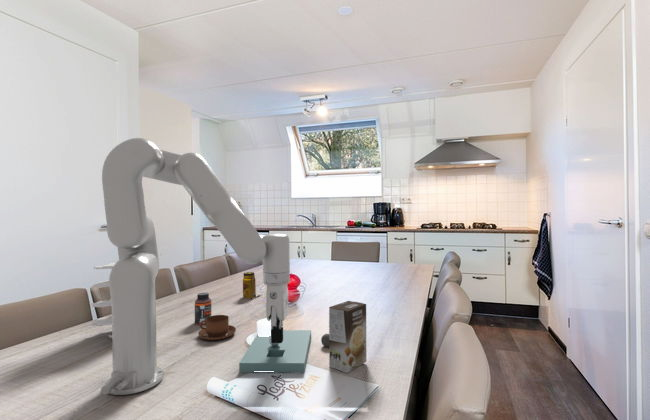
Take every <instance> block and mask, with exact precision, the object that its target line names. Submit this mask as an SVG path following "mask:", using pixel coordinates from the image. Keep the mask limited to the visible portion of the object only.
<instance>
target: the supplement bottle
mask: <svg viewBox="0 0 650 420" xmlns="http://www.w3.org/2000/svg"><path fill="white" fill-rule="evenodd" d="M209 294H210V293H209V292H199V293H197V296H196V297H197V298H196V299H195V300H194V324H195V325H196V326H200V322H201V321H203V320H206V318H208V317H210V316H213V315H212V299H211V298H210V296H209ZM202 326H206V323H205V322H203V323H202Z"/></svg>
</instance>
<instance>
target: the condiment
mask: <svg viewBox="0 0 650 420" xmlns="http://www.w3.org/2000/svg"><path fill="white" fill-rule="evenodd" d="M242 274H243V276H242V277H243V278H242V298H243V299H244V298H245V299H244V300H253V299H254V300H255V299H257V298H258V297H260V296H261V294H256V291H257V290H256V278H255V277H256V275H255V272H253V271H246V272H244V273H242ZM256 295H258V296H257V297H256ZM251 298H253V299H251Z"/></svg>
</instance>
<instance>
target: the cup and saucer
mask: <svg viewBox="0 0 650 420" xmlns="http://www.w3.org/2000/svg"><path fill="white" fill-rule="evenodd" d="M229 318H230V317H229V316H228V315H227V314H216V315H215V314H214V315H212V316H210V317H208V318H206V320H203V321H201V322H200V325H199V328H200V330H199V331H198V336H199V338H201V339H203V340H206V341H218V340H223V339H227V338H230V337H231V336H233V335H234V334H235V333H236V331H237V328H236V327H235V326H234V325H230V324H229V322H230V321H229V320H230V319H229ZM203 322H205V323H206V325H205V327H203V325H202V323H203ZM207 336H208V337H207Z"/></svg>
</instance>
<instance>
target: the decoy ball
mask: <svg viewBox="0 0 650 420" xmlns="http://www.w3.org/2000/svg"><path fill="white" fill-rule="evenodd" d="M320 341H321V345H322V346H324V347H326V348H329V333H325V334H323V335H322V336H321V340H320Z"/></svg>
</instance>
